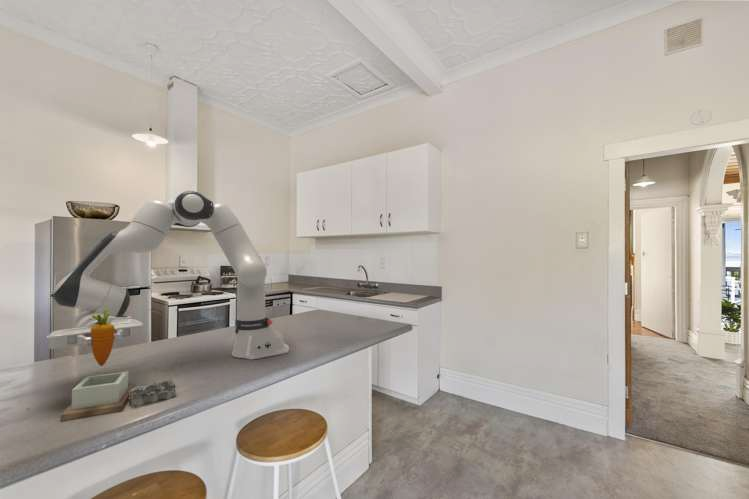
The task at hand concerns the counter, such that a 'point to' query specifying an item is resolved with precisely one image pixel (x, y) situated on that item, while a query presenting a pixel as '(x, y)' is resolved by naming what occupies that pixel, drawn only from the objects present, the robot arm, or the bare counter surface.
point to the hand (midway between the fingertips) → (103, 339)
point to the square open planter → (100, 390)
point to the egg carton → (151, 392)
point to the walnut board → (96, 408)
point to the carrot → (102, 338)
